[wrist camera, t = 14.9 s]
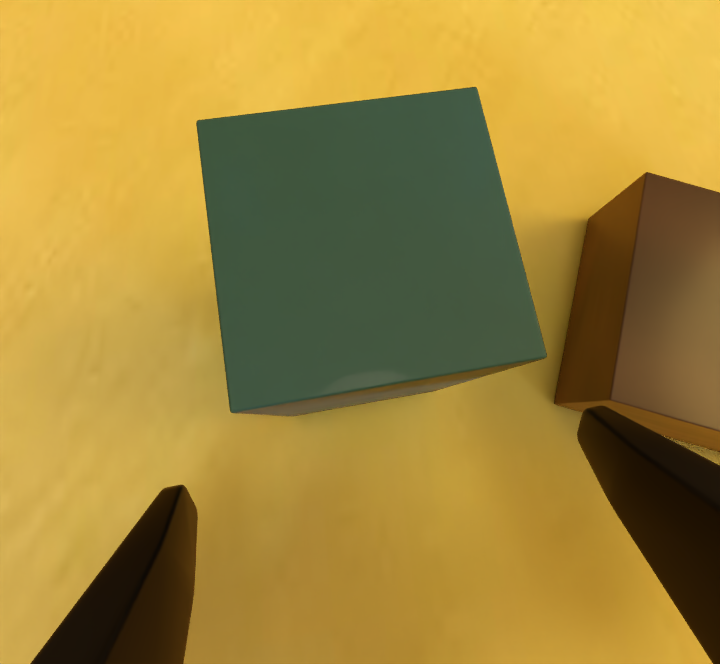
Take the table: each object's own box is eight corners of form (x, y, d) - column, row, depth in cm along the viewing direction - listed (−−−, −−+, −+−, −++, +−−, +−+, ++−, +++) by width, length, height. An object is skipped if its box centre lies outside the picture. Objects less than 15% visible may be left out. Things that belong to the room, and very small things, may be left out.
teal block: (435, 390, 16) (548, 357, 7) (290, 416, 16) (229, 413, 7) (407, 255, 17) (477, 85, 8) (270, 275, 17) (195, 119, 8)
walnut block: (757, 462, 16) (867, 474, 13) (553, 404, 16) (610, 399, 13) (773, 270, 18) (875, 236, 14) (588, 218, 18) (646, 170, 15)
